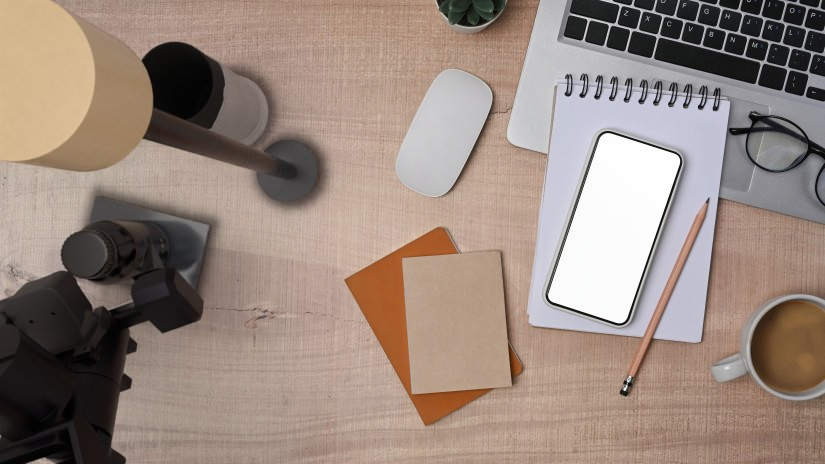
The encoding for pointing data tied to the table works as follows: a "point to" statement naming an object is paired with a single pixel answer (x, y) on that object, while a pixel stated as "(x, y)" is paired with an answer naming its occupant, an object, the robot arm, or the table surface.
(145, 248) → the supplement bottle
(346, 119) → the table surface
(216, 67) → the glass holder
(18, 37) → the desk lamp
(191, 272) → the slate tile
